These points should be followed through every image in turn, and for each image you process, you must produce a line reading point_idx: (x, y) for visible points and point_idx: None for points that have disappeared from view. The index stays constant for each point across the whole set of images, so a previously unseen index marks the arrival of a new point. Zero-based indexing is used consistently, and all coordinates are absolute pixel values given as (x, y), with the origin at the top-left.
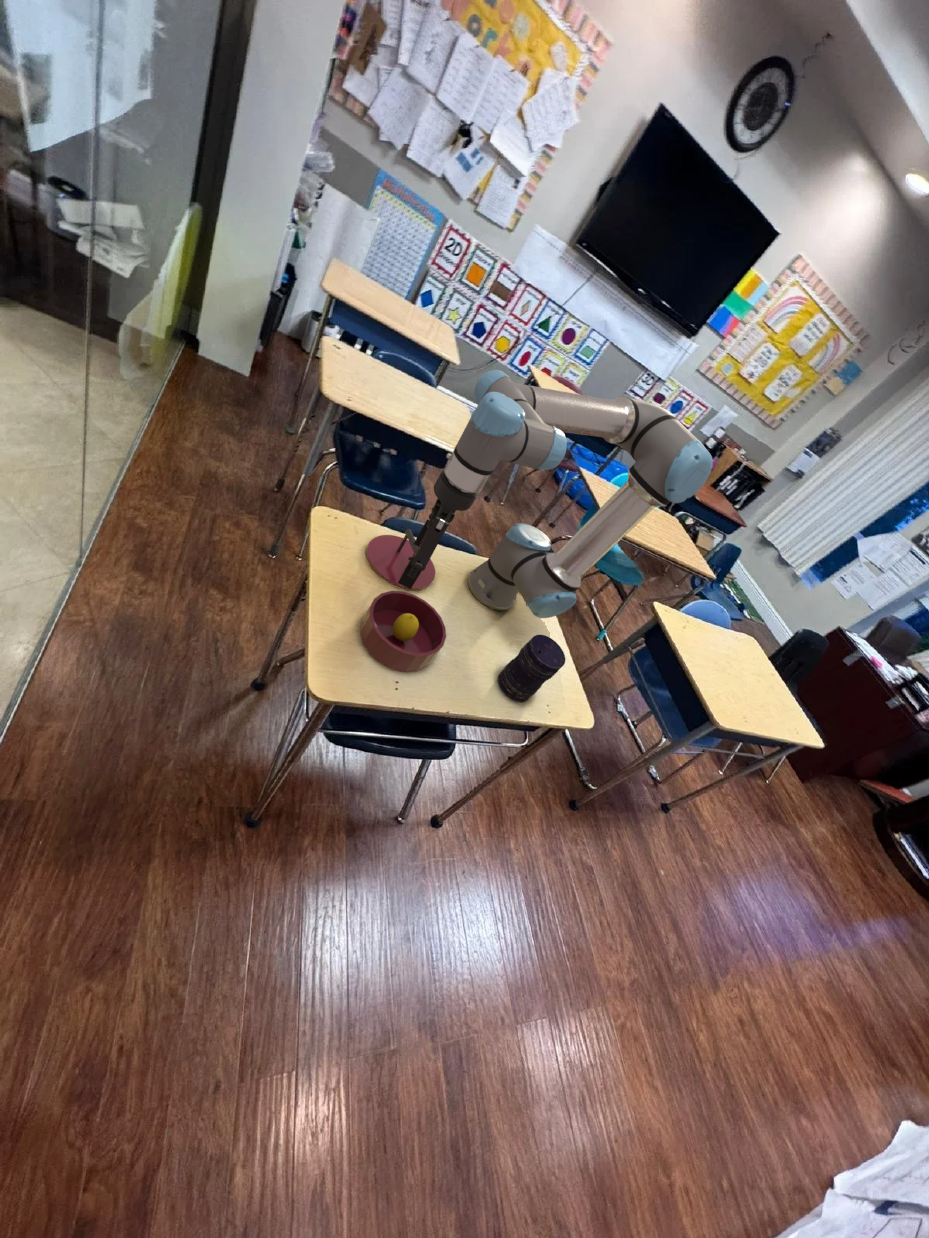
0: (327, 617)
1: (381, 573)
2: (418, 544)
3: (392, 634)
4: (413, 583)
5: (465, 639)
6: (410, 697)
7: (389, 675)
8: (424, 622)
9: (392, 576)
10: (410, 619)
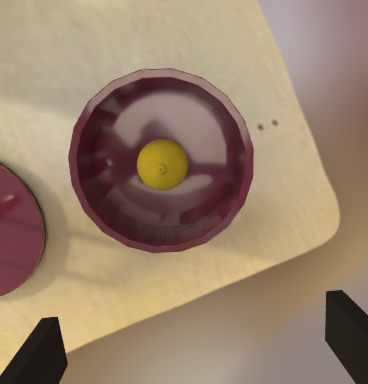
0: (202, 278)
1: (37, 250)
2: (60, 356)
3: None
4: (364, 313)
5: (57, 22)
6: (279, 92)
7: (254, 145)
8: (96, 129)
9: (25, 230)
10: (168, 170)
